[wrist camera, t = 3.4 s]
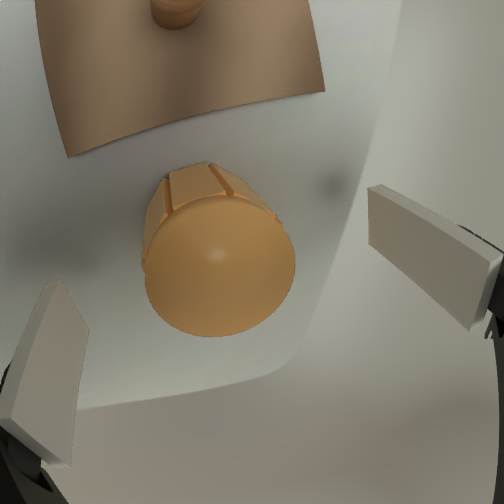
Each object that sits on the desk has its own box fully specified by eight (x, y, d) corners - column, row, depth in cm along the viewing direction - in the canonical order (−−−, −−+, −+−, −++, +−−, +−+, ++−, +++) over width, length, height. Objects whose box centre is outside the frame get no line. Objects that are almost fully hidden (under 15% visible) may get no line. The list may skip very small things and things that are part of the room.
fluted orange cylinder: (167, 272, 16) (175, 352, 11) (135, 183, 14) (120, 234, 9) (258, 244, 17) (301, 311, 12) (239, 153, 15) (284, 185, 9)
